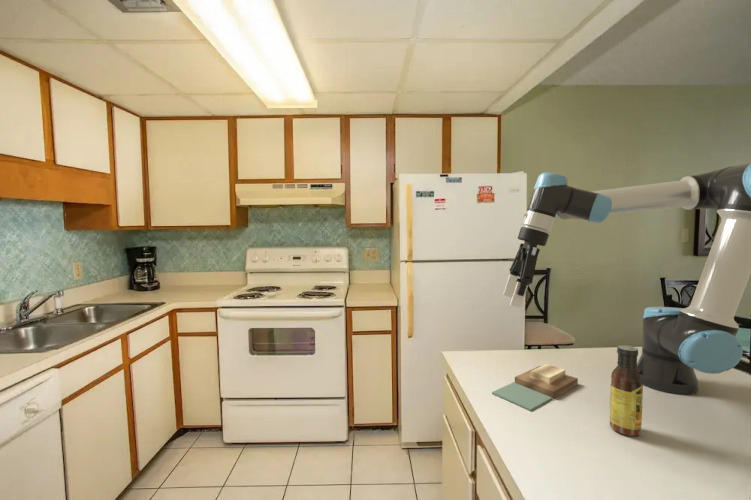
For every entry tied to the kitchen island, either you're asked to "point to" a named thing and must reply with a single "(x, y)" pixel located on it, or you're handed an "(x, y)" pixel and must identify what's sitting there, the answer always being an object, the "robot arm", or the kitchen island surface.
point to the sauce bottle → (626, 393)
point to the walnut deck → (544, 388)
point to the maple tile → (547, 373)
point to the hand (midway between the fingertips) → (511, 300)
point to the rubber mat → (522, 396)
